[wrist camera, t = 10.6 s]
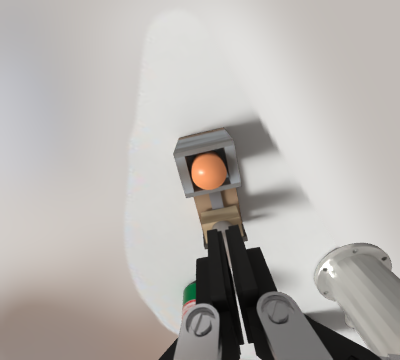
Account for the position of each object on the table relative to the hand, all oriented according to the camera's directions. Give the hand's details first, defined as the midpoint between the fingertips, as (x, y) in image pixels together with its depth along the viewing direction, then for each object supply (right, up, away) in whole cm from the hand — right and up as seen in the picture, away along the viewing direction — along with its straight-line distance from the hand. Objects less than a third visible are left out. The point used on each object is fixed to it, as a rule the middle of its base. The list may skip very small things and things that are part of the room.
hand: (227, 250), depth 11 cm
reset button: (-1, +5, +12) cm, 13 cm away
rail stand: (0, +3, +20) cm, 20 cm away
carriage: (+1, -2, +19) cm, 20 cm away
